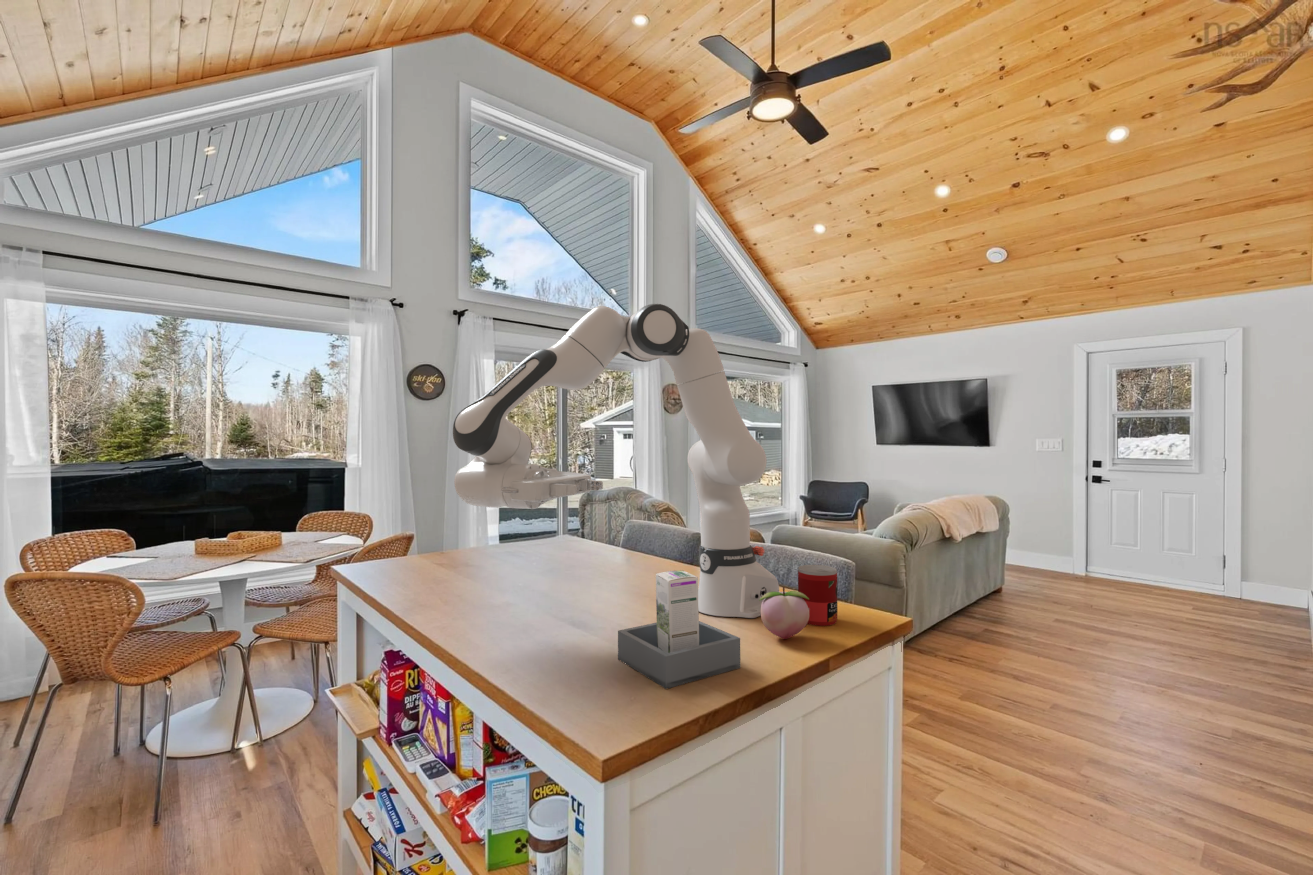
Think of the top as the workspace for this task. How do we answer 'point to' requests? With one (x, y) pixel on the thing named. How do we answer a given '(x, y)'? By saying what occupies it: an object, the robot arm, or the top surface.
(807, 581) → the canned food
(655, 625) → the bin
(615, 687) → the top surface
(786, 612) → the decorative fruit
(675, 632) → the syrup box
